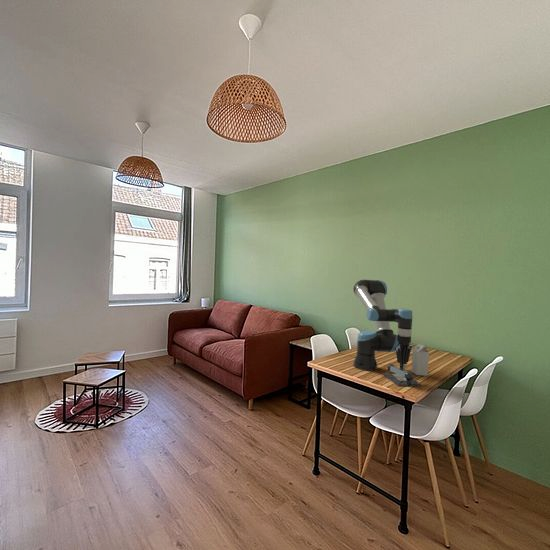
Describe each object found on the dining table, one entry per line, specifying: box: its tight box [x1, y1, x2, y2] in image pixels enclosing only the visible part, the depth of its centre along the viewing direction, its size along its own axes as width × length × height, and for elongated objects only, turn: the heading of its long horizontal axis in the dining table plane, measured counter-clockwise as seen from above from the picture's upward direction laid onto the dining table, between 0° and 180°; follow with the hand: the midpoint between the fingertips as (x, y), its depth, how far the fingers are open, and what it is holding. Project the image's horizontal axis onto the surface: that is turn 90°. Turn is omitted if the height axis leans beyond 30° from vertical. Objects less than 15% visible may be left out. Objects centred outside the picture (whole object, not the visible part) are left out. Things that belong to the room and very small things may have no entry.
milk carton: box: [410, 342, 430, 377], centre depth 186 cm, size 7×7×19 cm
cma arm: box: [387, 363, 414, 380], centre depth 171 cm, size 18×4×3 cm, turn 21°
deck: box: [383, 373, 422, 387], centre depth 172 cm, size 16×14×4 cm
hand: (402, 374), depth 174 cm, fingers closed
